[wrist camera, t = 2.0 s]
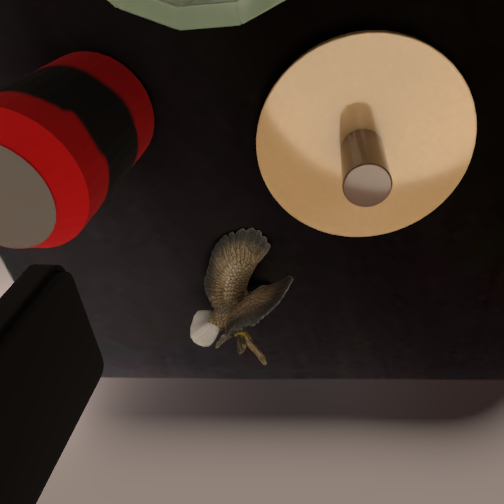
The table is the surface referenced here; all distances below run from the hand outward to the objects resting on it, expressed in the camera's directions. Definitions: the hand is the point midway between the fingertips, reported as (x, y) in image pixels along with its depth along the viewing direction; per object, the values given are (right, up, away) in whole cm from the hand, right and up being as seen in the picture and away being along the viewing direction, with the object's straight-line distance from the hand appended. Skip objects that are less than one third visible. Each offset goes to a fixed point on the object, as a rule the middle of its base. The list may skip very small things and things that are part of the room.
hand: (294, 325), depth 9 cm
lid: (+6, +8, +19) cm, 22 cm away
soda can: (-11, +11, +21) cm, 26 cm away
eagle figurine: (-1, 0, +28) cm, 28 cm away
